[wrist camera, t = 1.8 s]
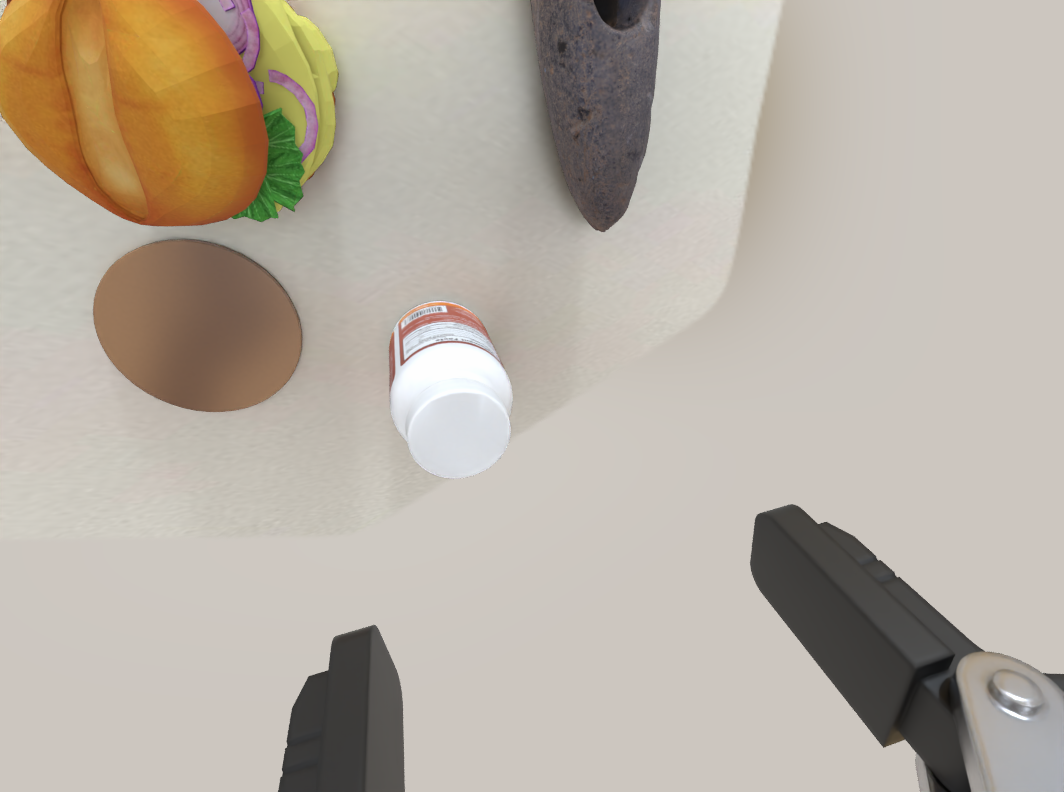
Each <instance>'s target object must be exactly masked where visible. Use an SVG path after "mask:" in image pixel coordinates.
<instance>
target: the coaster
mask: <svg viewBox="0 0 1064 792" xmlns="http://www.w3.org/2000/svg"><path fill="white" fill-rule="evenodd" d="M93 315H94V324H95V328H96V332H97V336H98V338H99V340H100V343H101V345H102V347H103V349H104V351H105V352H106V354H107V356H108V357H109V359H110V360H111V361H112V363H113V364H114V365H115V366H116V368H117V369H118V370H119V371H120V372H121V373H122V374H123V375H124V376H125V377H126V378H127V379H129V380H130V381H131V382H132V383H133V384H135V385H136V386H137V387H139V388H140V389H142V390H143V391H145V392H147V393H148V394H150V395H152V396H154V397H156V398H158V399H160V400H162V401H165V402H167V403H170V404H172V405H176V406H179V407H182V408H186V409H191V410H196V411H206V412H225V411H234V410H239V409H243V408H247V407H250V406H253V405H256V404H258V403H260V402H262V401H264V400H266V399H268V398H269V397H271V396H272V395H274V394H275V393H276V392H277V391H279V390H280V389H281V388H282V387H283V386H284V385H285V384H286V382H287V381H288V380H289V379H290V377H291V375H292V374H293V372H294V370H295V368H296V366H297V363H298V361H299V357H300V353H301V346H302V332H301V326H300V321H299V318H298V315H297V312H296V309H295V307H294V305H293V303H292V301H291V300H290V298H289V296H288V295H287V293H286V292H285V291H284V289H283V288H282V286H281V285H280V284H279V283H278V282H277V281H276V280H275V279H274V278H273V277H272V276H271V275H270V274H269V273H268V272H267V271H266V270H265V269H263V268H262V267H261V266H259V265H258V264H256V263H255V262H254V261H252V260H250V259H249V258H247V257H245V256H243V255H242V254H240V253H237V252H235V251H233V250H231V249H228V248H226V247H223V246H219V245H216V244H213V243H208V242H203V241H198V240H186V239H179V240H165V241H159V242H154V243H151V244H148V245H144V246H142V247H139V248H137V249H135V250H133V251H131V252H129V253H127V254H126V255H124V256H123V257H121V258H120V259H119V260H117V261H116V262H115V263H114V264H113V265H112V266H111V267H110V268H109V269H108V271H107V272H106V273H105V275H104V276H103V277H102V279H101V281H100V283H99V286H98V288H97V291H96V294H95V298H94V307H93Z"/></svg>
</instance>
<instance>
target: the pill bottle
mask: <svg viewBox="0 0 1064 792" xmlns="http://www.w3.org/2000/svg"><path fill="white" fill-rule="evenodd" d="M389 367H390V409H391V414H392V418H393V421H394V424H395V426H396V428H397V430H398V431H399V433H400V434H401V436H402V437H403V438H404V439H405V440H406V441H407V442H408V447H409V450H410V453H411V455H412V457H413V458H414V460H415V461H416V462H417V463H418V464H419V465H420V466H421V467H422V468H423V469H424V470H426V471H428V472H429V473H431V474H433V475H436V476H439V477H443V478H451V479H458V478H466V477H471V476H474V475H476V474H478V473H481V472H483V471H485V470H487V469H488V468H490V467H491V466H492V465H494V464H495V463H496V462H497V461H498V460H499V459H500V458H501V456H502V455H503V453H504V452H505V450H506V448H507V446H508V443H509V440H510V435H511V426H510V420H509V417H510V414H511V410H512V403H513V393H512V387H511V383H510V380H509V378H508V375H507V373H506V371H505V369H504V367H503V365H502V363H501V361H500V359H499V356H498V354H497V352H496V350H495V348H494V346H493V344H492V342H491V340H490V338H489V335H488V333H487V331H486V329H485V327H484V326H483V324H482V323H481V321H480V320H479V319H478V317H477V316H476V315H475V314H474V313H472V312H471V311H470V310H468V309H467V308H465V307H463V306H461V305H458V304H455V303H452V302H446V301H433V302H427V303H424V304H421V305H418V306H416V307H414V308H413V309H411V310H409V311H408V312H407V313H406V314H405V315H404V316H402V318H401V319H400V320H399V321H398V323H397V324H396V326H395V328H394V330H393V332H392V335H391V339H390V345H389Z"/></svg>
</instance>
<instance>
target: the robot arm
mask: <svg viewBox="0 0 1064 792" xmlns="http://www.w3.org/2000/svg"><path fill="white" fill-rule="evenodd" d="M750 565H751V571H752V575H753V578H754V580H755V582H756V584H757V586H758V588H759V590H760V591H761V593H762V594H763V595H764V596H765V598H766V599H767V600H768V602H769V603H770V604H771V605H772V607H773V608H774V609H775V610H776V612H777V613H778V614H779V615H780V617H781V618H782V619H783V621H784V622H785V623H786V624H787V626H788V627H789V628H790V629H791V631H792V632H793V633H794V634H795V636H796V637H797V638H798V640H799V641H800V642H801V643H802V645H803V646H804V647H805V649H806V650H807V651H808V652H809V654H810V655H811V656H812V657H813V658H814V660H815V661H816V662H817V664H818V665H819V666H820V667H821V669H822V670H823V671H824V673H825V674H826V675H827V676H828V678H829V679H830V680H831V681H832V683H833V684H834V685H835V687H836V688H837V689H838V690H839V692H840V693H841V694H842V695H843V697H844V698H845V699H846V701H847V702H848V703H849V704H850V706H851V707H852V708H853V709H854V711H855V712H856V713H857V714H858V716H859V717H860V718H861V720H862V721H863V722H864V723H865V725H866V726H867V727H868V728H869V730H870V731H871V732H872V734H873V735H874V736H875V737H876V739H877V740H878V741H879V742H880V744H881V745H882V746H883V747H886V746H889V745H891V744H894V743H897V742H900V741H902V740H906V741H907V742H908V743H909V744H910V745H911V747H912V748H913V749H914V750H915V752H916V753H917V754H916V759H915V761H916V770H917V776H918V781H919V788H920V792H1064V674H1046V673H1041V672H1040V671H1038V670H1037V669H1035V668H1034V667H1032V666H1030V665H1028V664H1026V663H1024V662H1022V661H1020V660H1018V659H1015V658H1013V657H1010V656H1007V655H1004V654H1000V653H994V652H985V651H984V650H982V649H981V648H979V647H978V646H977V645H975V644H974V643H973V642H972V641H971V640H969V639H968V638H967V637H966V636H965V635H964V634H963V633H961V632H960V631H959V630H958V629H957V628H956V627H955V626H953V624H951V623H950V622H949V621H948V620H947V619H946V618H945V617H944V616H942V615H941V614H940V613H939V612H938V611H937V610H936V609H935V608H933V607H932V606H931V605H930V604H929V603H928V602H927V601H926V600H925V599H923V598H922V597H921V596H920V595H919V594H918V593H917V592H916V591H915V590H913V589H912V588H911V587H910V586H909V585H908V584H907V583H905V582H904V581H903V580H902V579H901V578H900V577H896V576H895V573H894V572H893V571H892V570H891V569H890V568H889V567H888V566H887V565H885V564H884V563H883V562H882V561H881V560H879V561H878V560H877V558H876V556H875V555H874V554H873V553H872V552H871V551H870V550H869V549H867V548H866V547H865V546H864V545H863V544H862V543H861V542H860V541H858V539H856V538H855V537H854V536H852V535H850V534H849V533H847V532H845V531H843V530H841V529H839V528H837V527H835V526H833V525H831V524H829V523H827V522H824V523H821V524H817V523H816V522H815V521H814V520H813V519H812V518H811V517H810V516H809V515H808V514H807V513H806V512H805V511H804V510H802V509H801V508H800V507H798V506H796V505H793V504H791V505H787V506H784V507H780V508H777V509H773V510H770V511H767V512H763V513H760V514H758V515H757V516H756V519H755V526H754V535H753V543H752V553H751V561H750ZM287 745H288V746H287V748H286V749H285V754H284V761H283V767H282V771H283V775H282V777H281V778H280V785H279V790H278V792H405V786H404V740H403V701H402V691H401V686H400V681H399V676H398V673H397V670H396V668H395V665H394V663H393V661H392V659H391V657H390V654H389V652H388V650H387V648H386V645H385V643H384V641H383V638H382V636H381V634H380V632H379V630H378V628H377V626H376V625H372V626H369V627H366V628H362V629H359V630H355V631H352V632H348V633H345V634H341V635H338V636H335V637H334V639H333V641H332V646H331V653H330V662H329V670H328V671H325V672H321V673H318V674H315V675H312V676H309V677H308V679H307V681H306V683H305V685H304V687H303V688H302V690H301V692H300V694H299V696H298V698H297V700H296V702H295V704H294V706H293V708H292V713H291V718H290V724H289V730H288V737H287Z"/></svg>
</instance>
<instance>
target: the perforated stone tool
mask: <svg viewBox="0 0 1064 792" xmlns="http://www.w3.org/2000/svg"><path fill="white" fill-rule="evenodd" d="M531 6H532V15H533V23H534V31H535V41H536V48H537V55H538V61H539V67H540V72H541V79H542V85H543V89H544V94H545V99H546V104H547V108H548V113H549V117H550V122H551V126H552V131H553V135H554V140H555V143H556V147H557V151H558V155H559V159H560V163H561V167H562V170H563V173H564V176H565V179H566V182H567V185H568V187H569V189H570V192H571V194H572V196H573V198H574V200H575V202H576V204H577V206H578V208H579V210H580V212H581V213H582V215H583V217H584V218H585V219H586V220H587V221H588V223H589V224H590V225H591V226H592V227H593V228H594V229H595V230H599V231H601V232H605V230H608V229H609V228H610V227H611V226H613V225H614V224H615V223H616V222H617V221H618V220H619V219H620V218H621V217H622V216H623V215H624V213H625V211H626V210H627V208H628V205H629V202H630V199H631V196H632V193H633V190H634V187H635V184H636V181H637V175H638V171H639V169H640V167H641V164H642V161H643V158H644V156H645V153H646V148H647V143H648V137H649V130H650V122H651V106H652V102H653V97H654V89H655V78H656V68H657V56H658V44H659V25H660V7H661V0H531Z"/></svg>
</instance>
